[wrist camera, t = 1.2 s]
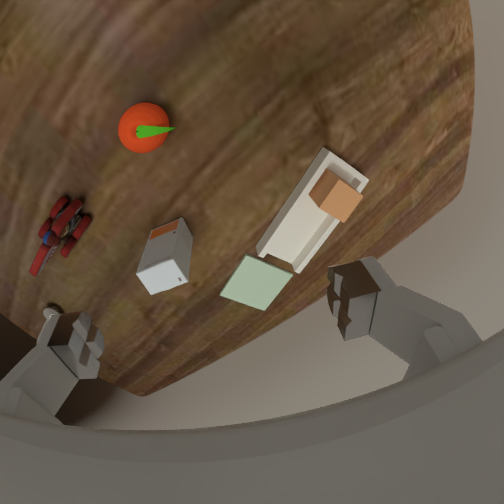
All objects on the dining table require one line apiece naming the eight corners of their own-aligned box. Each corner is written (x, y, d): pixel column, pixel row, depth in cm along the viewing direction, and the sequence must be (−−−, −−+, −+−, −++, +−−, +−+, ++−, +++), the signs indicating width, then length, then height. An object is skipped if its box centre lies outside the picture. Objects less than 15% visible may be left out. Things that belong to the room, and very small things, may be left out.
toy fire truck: (100, 209, 42) (77, 242, 33) (68, 254, 45) (46, 290, 37) (70, 183, 38) (40, 211, 30) (41, 232, 42) (15, 265, 33)
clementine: (180, 99, 35) (174, 102, 29) (179, 145, 38) (173, 157, 33) (126, 102, 34) (109, 107, 28) (127, 148, 37) (112, 160, 31)
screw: (50, 316, 53) (44, 300, 50) (67, 318, 54) (60, 302, 51) (31, 359, 42) (22, 344, 39) (49, 363, 43) (40, 348, 40)
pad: (246, 253, 50) (246, 255, 49) (292, 273, 54) (292, 275, 53) (219, 293, 54) (219, 295, 54) (263, 308, 58) (264, 310, 57)
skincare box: (182, 215, 45) (174, 258, 35) (193, 236, 47) (189, 282, 37) (149, 229, 45) (134, 273, 35) (161, 249, 47) (151, 296, 37)
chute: (322, 146, 41) (329, 151, 39) (360, 174, 44) (369, 180, 42) (255, 246, 49) (258, 255, 47) (295, 263, 53) (299, 273, 50)
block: (324, 166, 42) (339, 179, 37) (347, 182, 44) (363, 196, 39) (306, 192, 44) (318, 208, 39) (329, 206, 46) (343, 223, 41)
